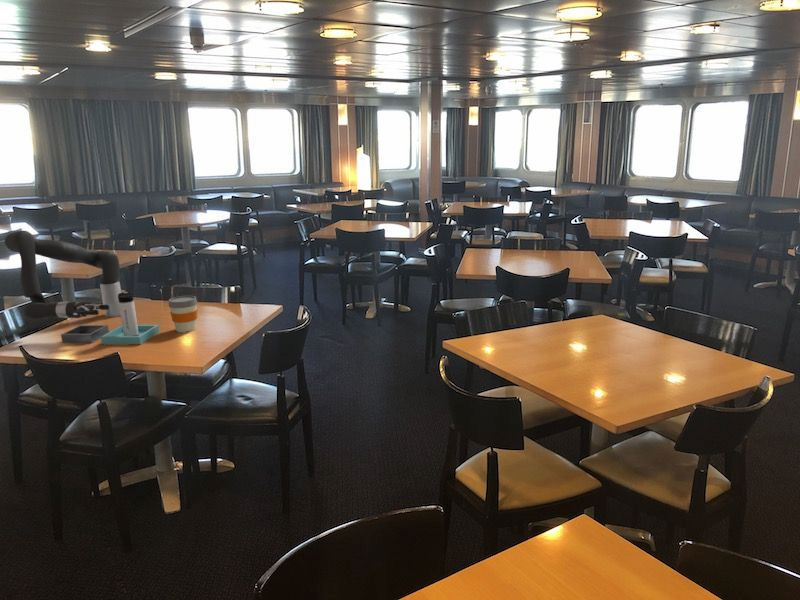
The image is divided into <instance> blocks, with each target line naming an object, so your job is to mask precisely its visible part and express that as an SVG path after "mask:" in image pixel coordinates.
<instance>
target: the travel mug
mask: <svg viewBox="0 0 800 600" xmlns="http://www.w3.org/2000/svg"><path fill="white" fill-rule="evenodd" d="M118 300H119V308H120V314H121V315H120V320H121V325H122V327H123V334H124V336H139V333H138V326H137V325H138V320H137V313H136V306H135V305H136V304H135V299H134V295H133V293H130V292H129V293H128V292H121V293H119V295H118Z"/></svg>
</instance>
